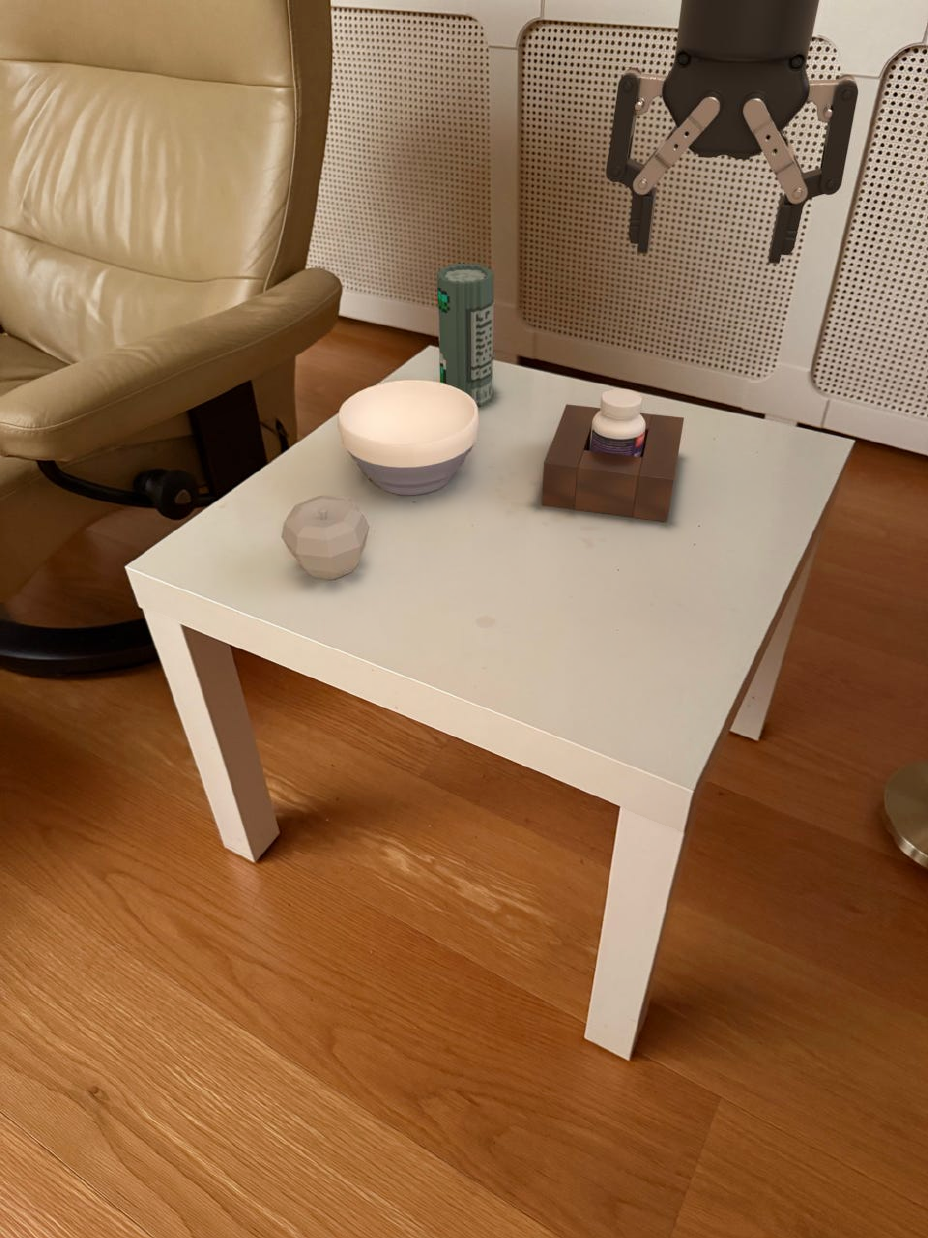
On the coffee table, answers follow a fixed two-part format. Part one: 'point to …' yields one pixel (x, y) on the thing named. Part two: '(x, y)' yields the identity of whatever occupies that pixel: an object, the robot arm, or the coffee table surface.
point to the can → (466, 329)
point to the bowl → (409, 433)
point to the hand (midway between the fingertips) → (707, 255)
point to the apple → (326, 536)
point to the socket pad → (612, 468)
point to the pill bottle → (618, 424)
